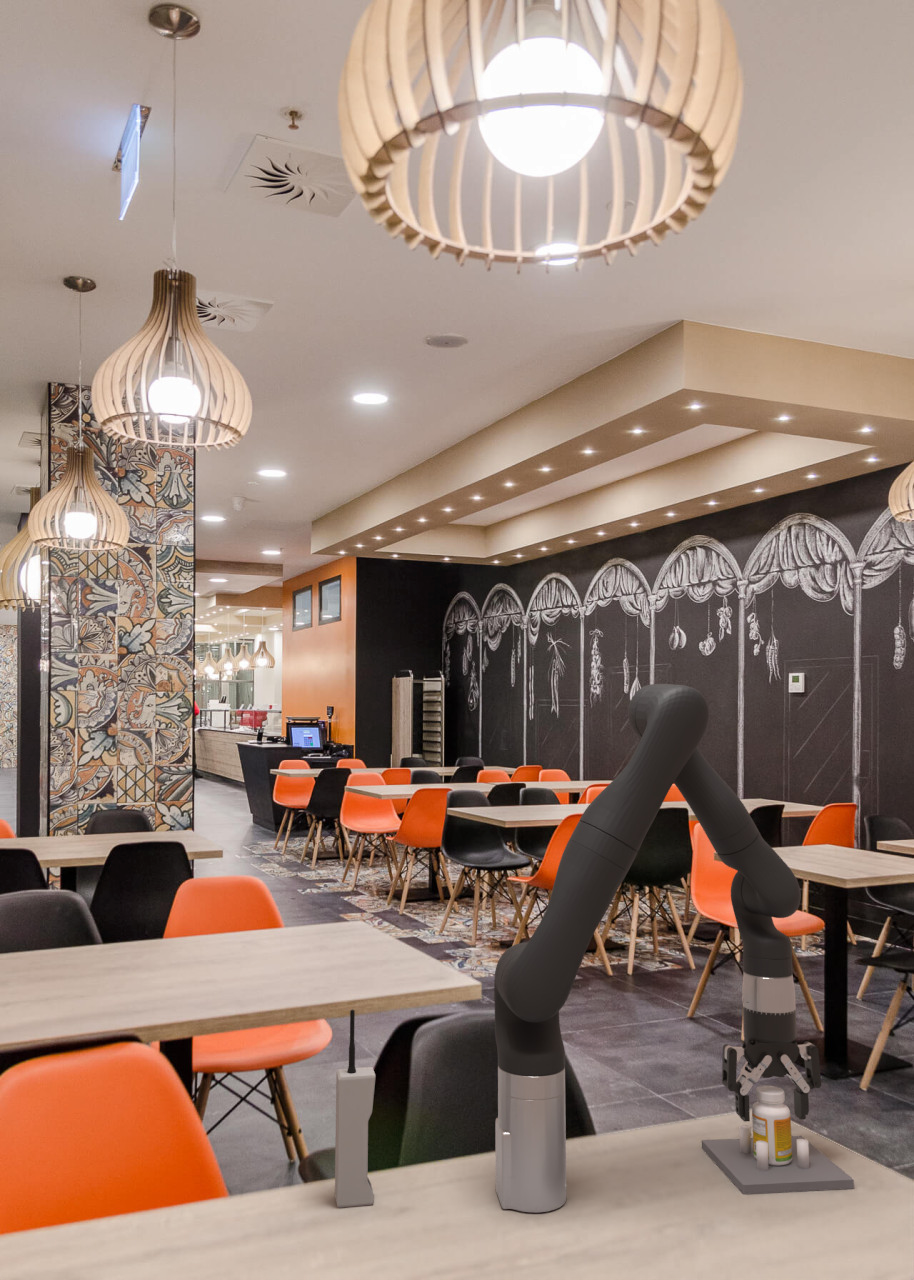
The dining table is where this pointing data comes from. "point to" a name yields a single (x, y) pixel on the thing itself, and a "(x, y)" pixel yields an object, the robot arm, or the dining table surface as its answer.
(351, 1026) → the vintage mobile phone
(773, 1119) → the supplement bottle
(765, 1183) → the pin holder
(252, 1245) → the dining table surface
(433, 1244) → the dining table surface
